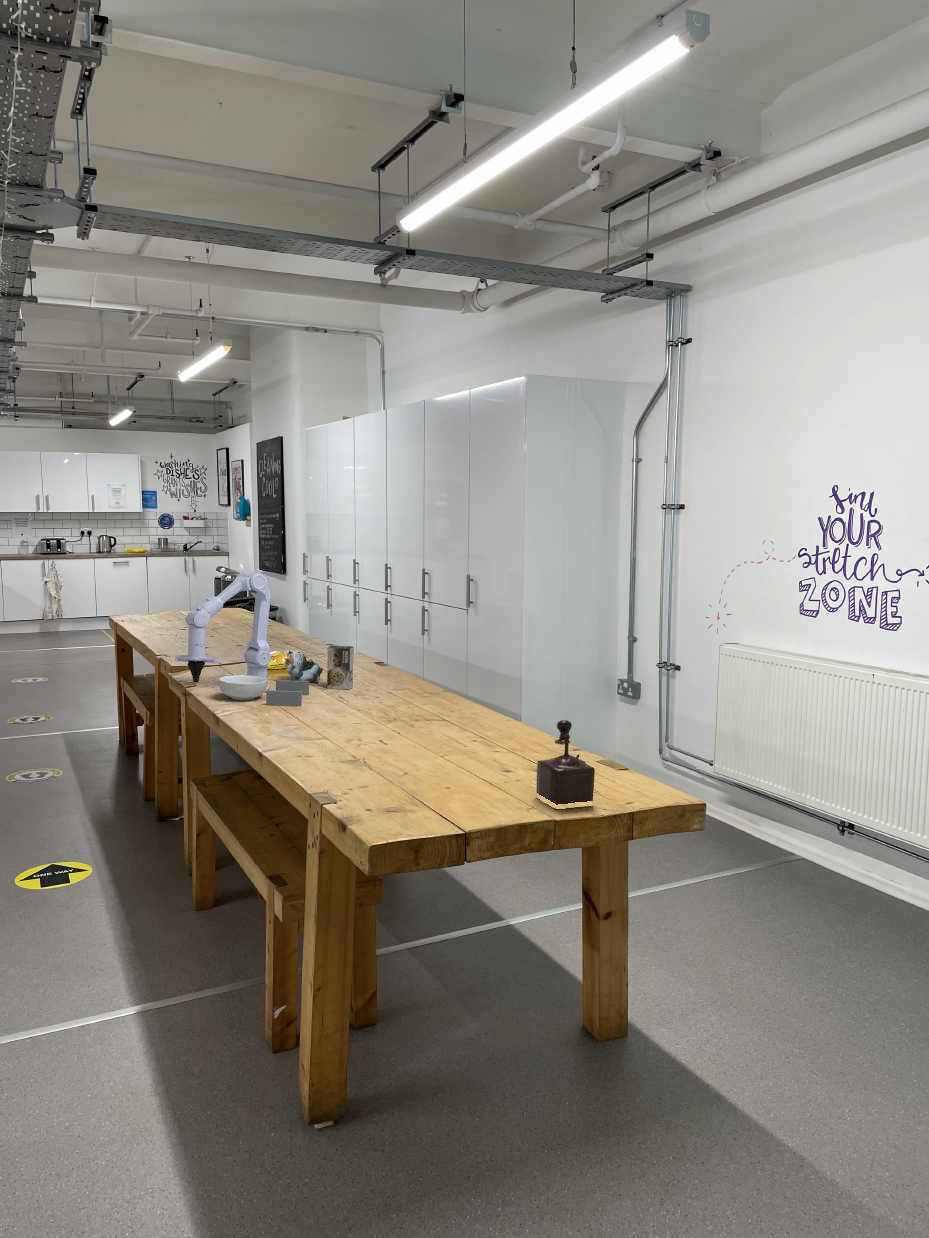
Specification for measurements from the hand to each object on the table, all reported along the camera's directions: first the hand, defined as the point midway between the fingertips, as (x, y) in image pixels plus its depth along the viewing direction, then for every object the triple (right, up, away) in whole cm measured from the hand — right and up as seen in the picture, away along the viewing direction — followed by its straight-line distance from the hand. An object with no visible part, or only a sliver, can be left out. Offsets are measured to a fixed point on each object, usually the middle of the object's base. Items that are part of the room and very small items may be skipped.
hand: (196, 682), depth 313 cm
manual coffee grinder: (+118, -21, -99) cm, 156 cm away
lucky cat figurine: (+31, -3, +40) cm, 50 cm away
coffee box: (+47, -5, +29) cm, 55 cm away
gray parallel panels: (+32, -6, +2) cm, 33 cm away
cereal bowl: (+16, -6, +2) cm, 17 cm away
